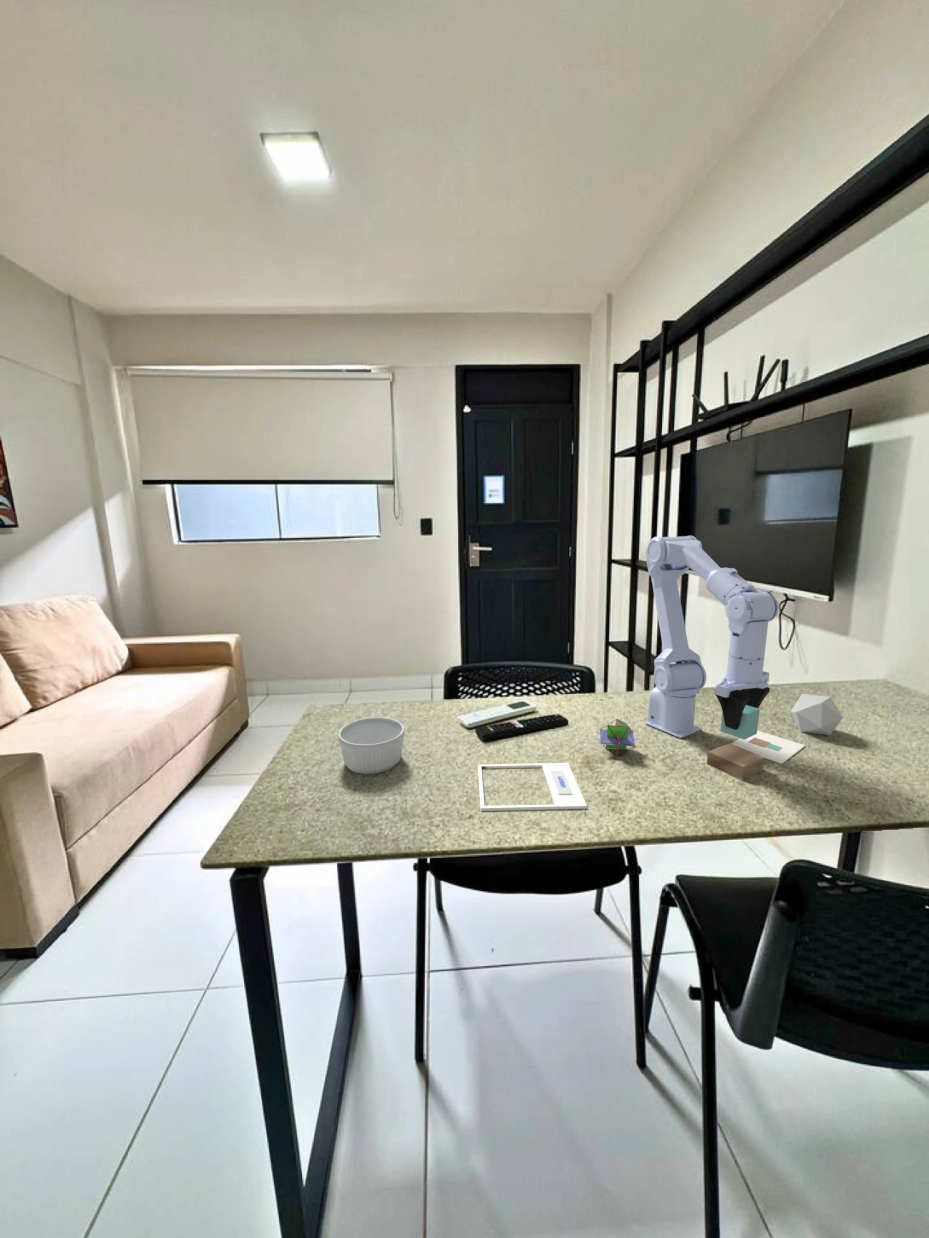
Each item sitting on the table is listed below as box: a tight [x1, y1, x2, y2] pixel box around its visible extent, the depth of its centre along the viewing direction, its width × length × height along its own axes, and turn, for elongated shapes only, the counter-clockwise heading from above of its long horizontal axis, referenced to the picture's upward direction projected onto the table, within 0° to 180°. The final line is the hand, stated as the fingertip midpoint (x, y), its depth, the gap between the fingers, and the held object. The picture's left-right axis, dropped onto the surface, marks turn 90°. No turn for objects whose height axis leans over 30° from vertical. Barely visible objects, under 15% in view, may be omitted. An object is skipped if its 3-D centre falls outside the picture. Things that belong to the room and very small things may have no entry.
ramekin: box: [337, 716, 405, 775], centre depth 98 cm, size 13×13×7 cm
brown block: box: [706, 742, 766, 781], centre depth 93 cm, size 7×7×3 cm
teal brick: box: [720, 705, 761, 740], centre depth 92 cm, size 4×4×5 cm
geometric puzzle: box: [599, 718, 636, 758], centre depth 100 cm, size 7×7×8 cm
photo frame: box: [477, 762, 588, 812], centre depth 88 cm, size 15×1×18 cm
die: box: [790, 693, 844, 737], centre depth 107 cm, size 8×9×10 cm
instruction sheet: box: [731, 730, 806, 765], centre depth 102 cm, size 10×12×1 cm
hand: (739, 724), depth 92 cm, fingers closed on teal brick, 4 cm apart
